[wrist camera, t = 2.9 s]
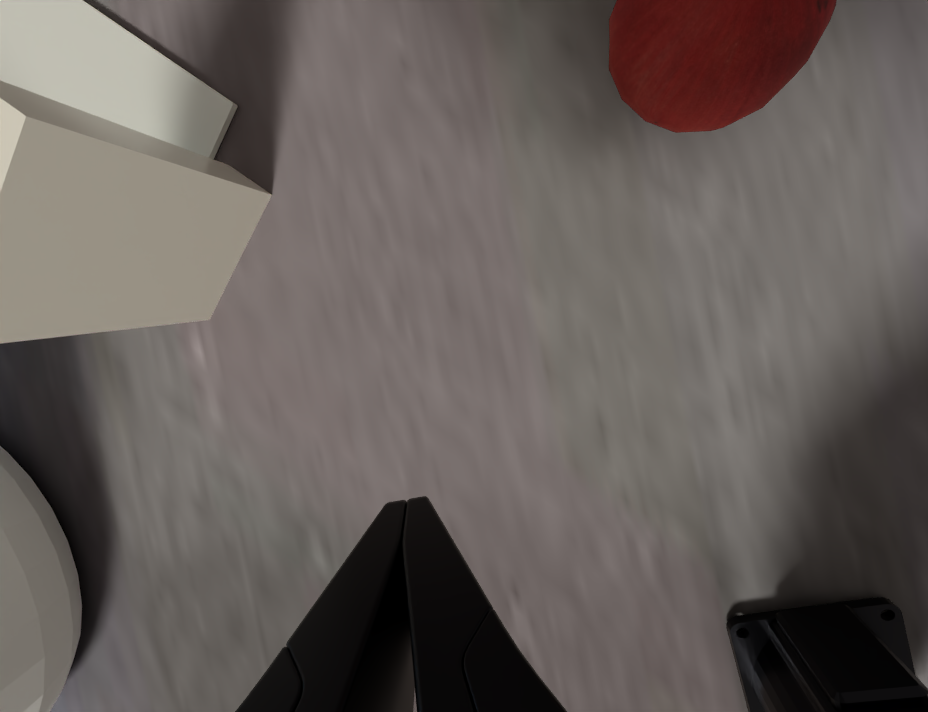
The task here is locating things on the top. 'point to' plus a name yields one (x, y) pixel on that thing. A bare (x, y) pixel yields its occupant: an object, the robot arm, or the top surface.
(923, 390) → the top surface
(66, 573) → the pot
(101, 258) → the beige rectangular block
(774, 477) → the top surface
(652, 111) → the onion
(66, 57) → the mat
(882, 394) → the top surface
